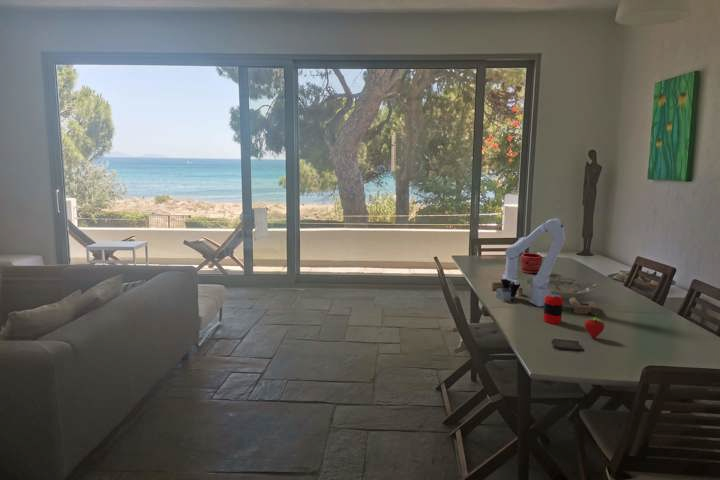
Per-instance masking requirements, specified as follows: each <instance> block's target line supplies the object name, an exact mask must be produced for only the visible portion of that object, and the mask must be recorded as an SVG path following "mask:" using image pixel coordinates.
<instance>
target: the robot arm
mask: <svg viewBox="0 0 720 480" xmlns="http://www.w3.org/2000/svg"><path fill="white" fill-rule="evenodd" d="M545 233H549V234H550V235H551V238H552V243H551V245H550V248H549V249H548V252H547V254H546V256H545V257H544V261H542V264H541V266H540V268H539V272H538V273H537V274H535V275H534V276H533V277H532V284H533V285H532V287H533V288H532V298H531V300H528V302H529V303H530V304H533V305H535V306H537V307H544V304H545V297H546V296H547V295H548V294H552V291H551V290H550V289H549V282H551V281H550V280H551V273H552V269H553V267H554V265H555V263H556V260H557V259H558V256H559V255H560V253H561V250H562V247H563V245H564V243H565V241H566V232H565V224H564V223H563V222H562V220H561V219H560V218H559V217H554V218H551V219H548V220H547V221H546V222H544V223H542V224H540V225H539V226H538V227H537V228H535V229H534V230H533V231H532V232H531V233H530V234H528V235H527V236H526V237H525V236H522V237H519V238H518V240H517V241H516V242H515V243H512V244H511V246H510V247H507V248H506V250H505V253H504V254H505V256H506V259H505V260H506V261H505V272H504V274H502V278H501V279H500V282H502V285H503V288H509V287H510V292H511V297H515V295H516V292H517V290H518V288H519V287H521V284H520V280H519V279H518V276H517V274H518V261H519V256H520V254H522V253H523V252H524V251H525V250H527V249H528V248H529V247H530V246H531V242H532V241H534V240H535V239H537V238H538V237H539V236H541V235H542V234H545ZM511 282H512V283H511Z"/></svg>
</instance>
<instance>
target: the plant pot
mask: <svg viewBox="0 0 720 480" xmlns="http://www.w3.org/2000/svg"><path fill="white" fill-rule="evenodd" d="M520 262H521V267H522V268H521V269H520V270H521V271H522V272H523V273H525V272H526V273H525V274H528V273H537V274H538V272H539V270H540V269H541V267H542V264H543V256H542V254H537V253H533V252H532V253H531V252H529V253H528V252H527V253H521V257H520Z"/></svg>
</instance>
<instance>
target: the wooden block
mask: <svg viewBox="0 0 720 480" xmlns="http://www.w3.org/2000/svg"><path fill="white" fill-rule="evenodd" d="M568 300H569V303H570V305H571V307H572V308H573V313H574V314H578V315H588V314H590V315H591V316H599V315H600V312H601V308H600V307H599V306H598V305H597V303H596V302H595V300H590V301H585V302H579V301H578V299H577V298H576V297H574V296H573V297H570V298H569V299H568Z"/></svg>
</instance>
